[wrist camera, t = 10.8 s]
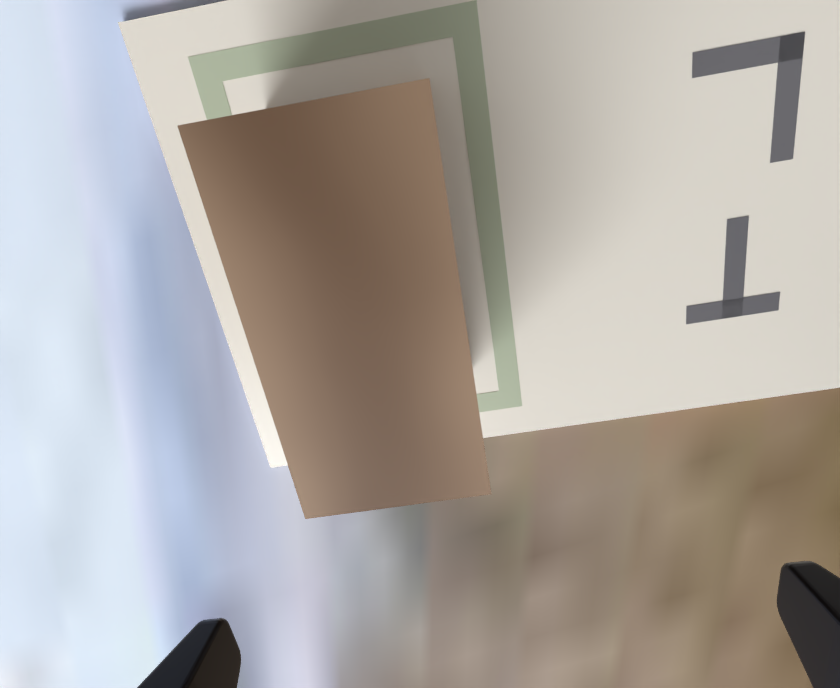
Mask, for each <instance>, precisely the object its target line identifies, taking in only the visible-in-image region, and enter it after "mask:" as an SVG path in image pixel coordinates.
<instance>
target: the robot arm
mask: <svg viewBox="0 0 840 688" xmlns="http://www.w3.org/2000/svg"><path fill="white" fill-rule="evenodd" d="M777 607H778V611H779V614H780V617H781V619H782V621H783V623H784V626H785V628H786V630H787V632H788V634H789V636H790V638H791V641H792V643H793V645H794V647H795V649H796V651H797V653H798V656H799V658H800V660H801V662H802V664H803V666H804V668H805V671H806V673H807V675H808V677H809V679H810V681H811V684H812V686H813V688H840V578H839V577H837V576H836V575H834V574H833V573H831V572H829V571H828V570H826V569H825V568H823V567H822V566H820V565H818V564H816V563H814V562H811V561H801V562H791V563H786V564H784V565H783V566H782V568H781V573H780V580H779V587H778V594H777ZM240 665H241V654H240V650H239V647H238V644H237V642H236V640H235V637H234V635H233V632H232V630H231V628H230V625H229V623H228V621H227V620H225V619H224V618H218V619H207V620H203V621H201V622H199V623H198V624H197V625H196V626H195V627H194V628H193V629H192V630H191V631H190V632H189V633H188V634H187V635H186V636H185V637H184V638H183V639H182V641H181V642H180V643H179V644H178V645H177V646H176V647H175V648H174V649H173V650H172V651H171V652H170V653H169V654H168V655H167V657H166V658H165V659H164V660H163V661H162V662H161V663H160V664H159V665H158V666H157V667H156V668H155V669H154V670H153V671H152V672H151V674H150V675H149V676H148V677H147V678H146V679H145V680H144V681H143V682H142V683H141V684H140V685H139V686H138V687H137V688H237V683H238V677H239V672H240Z"/></svg>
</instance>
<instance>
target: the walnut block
mask: <svg viewBox="0 0 840 688" xmlns="http://www.w3.org/2000/svg"><path fill="white" fill-rule="evenodd" d="M178 129H179V133H180V136H181V139H182V142H183V145H184V148H185V151H186V154H187V157H188V160H189V163H190V166H191V169H192V172H193V175H194V179H195V182H196V185H197V188H198V191H199V194H200V197H201V200H202V203H203V206H204V209H205V212H206V215H207V218H208V221H209V225H210V228H211V231H212V234H213V237H214V240H215V243H216V246H217V249H218V252H219V255H220V258H221V261H222V264H223V267H224V271H225V274H226V277H227V280H228V283H229V286H230V289H231V292H232V295H233V298H234V301H235V304H236V307H237V310H238V314H239V317H240V320H241V323H242V326H243V329H244V332H245V335H246V338H247V341H248V344H249V347H250V350H251V353H252V356H253V360H254V363H255V366H256V369H257V372H258V375H259V378H260V381H261V384H262V387H263V390H264V393H265V396H266V399H267V402H268V406H269V409H270V412H271V415H272V418H273V421H274V424H275V427H276V430H277V433H278V436H279V439H280V442H281V445H282V448H283V452H284V455H285V458H286V461H287V464H288V467H289V470H290V473H291V476H292V479H293V482H294V485H295V488H296V491H297V495H298V498H299V501H300V504H301V507H302V510H303V513H304V516H305V519H309V518H316V517H324V516H331V515H339V514H346V513H354V512H361V511H369V510H376V509H384V508H391V507H399V506H406V505H414V504H421V503H429V502H436V501H444V500H451V499H459V498H466V497H473V496H481V495H488V494H491V488H490V481H489V475H488V468H487V461H486V454H485V448H484V441H483V434H482V428H481V421H480V414H479V407H478V401H477V394H476V387H475V381H474V374H473V367H472V360H471V354H470V347H469V340H468V334H467V327H466V320H465V313H464V307H463V300H462V293H461V287H460V280H459V273H458V266H457V260H456V253H455V246H454V240H453V233H452V226H451V219H450V213H449V206H448V199H447V193H446V186H445V179H444V172H443V166H442V159H441V152H440V146H439V139H438V132H437V125H436V119H435V112H434V105H433V99H432V92H431V85H430V78H427V79H421V80H416V81H411V82H405V83H400V84H395V85H389V86H384V87H379V88H374V89H368V90H363V91H358V92H352V93H347V94H342V95H336V96H331V97H326V98H320V99H315V100H310V101H304V102H299V103H294V104H289V105H283V106H278V107H273V108H267V109H262V110H257V111H251V112H246V113H241V114H236V115H230V116H225V117H220V118H215V119H209V120H204V121H199V122H193V123H188V124H183V125H178Z"/></svg>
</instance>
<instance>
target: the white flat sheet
mask: <svg viewBox="0 0 840 688" xmlns="http://www.w3.org/2000/svg"><path fill="white" fill-rule="evenodd" d="M118 24H119V27H120V30H121V33H122V36H123V38H124V41H125V44H126V47H127V50H128V53H129V56H130V59H131V62H132V65H133V68H134V71H135V73H136V76H137V79H138V82H139V85H140V88H141V91H142V94H143V97H144V100H145V103H146V106H147V108H148V111H149V114H150V117H151V120H152V123H153V126H154V129H155V132H156V135H157V138H158V141H159V144H160V146H161V149H162V152H163V155H164V158H165V161H166V164H167V167H168V170H169V173H170V176H171V179H172V181H173V184H174V187H175V190H176V193H177V196H178V199H179V202H180V205H181V208H182V211H183V214H184V216H185V219H186V222H187V225H188V228H189V231H190V234H191V237H192V240H193V243H194V246H195V249H196V251H197V254H198V257H199V260H200V263H201V266H202V269H203V272H204V275H205V278H206V281H207V284H208V286H209V289H210V292H211V295H212V298H213V301H214V304H215V307H216V310H217V313H218V316H219V319H220V321H221V324H222V327H223V330H224V333H225V336H226V339H227V342H228V345H229V348H230V351H231V354H232V356H233V359H234V362H235V365H236V368H237V371H238V374H239V377H240V380H241V383H242V386H243V389H244V391H245V394H246V397H247V400H248V403H249V406H250V409H251V412H252V415H253V418H254V421H255V424H256V426H257V429H258V432H259V435H260V438H261V441H262V444H263V447H264V450H265V453H266V456H267V459H268V461H269V464H270V467H271V468H273V467H280V466H287V465H288V464H287V461H286V458H285V455H284V452H283V448H282V445H281V442H280V439H279V436H278V433H277V430H276V427H275V424H274V421H273V418H272V415H271V412H270V409H269V406H268V402H267V399H266V396H265V393H264V390H263V387H262V384H261V381H260V378H259V375H258V372H257V369H256V366H255V363H254V360H253V356H252V353H251V350H250V347H249V344H248V341H247V338H246V335H245V332H244V329H243V326H242V323H241V320H240V317H239V314H238V310H237V307H236V304H235V301H234V298H233V295H232V292H231V289H230V286H229V283H228V280H227V277H226V274H225V271H224V267H223V264H222V261H221V258H220V255H219V252H218V249H217V246H216V243H215V240H214V237H213V234H212V231H211V228H210V225H209V221H208V218H207V215H206V212H205V209H204V206H203V203H202V200H201V197H200V194H199V191H198V188H197V185H196V182H195V179H194V175H193V172H192V169H191V166H190V163H189V160H188V157H187V154H186V151H185V148H184V145H183V142H182V139H181V136H180V133H179V129H178V125H183V124H188V123H193V122H199V121H204V120H209V119H215V118H220V117H225V116H230V115H236V114H241V113H246V112H251V111H257V110H262V109H267V108H273V107H278V106H283V105H289V104H294V103H299V102H304V101H310V100H315V99H320V98H326V97H331V96H336V95H342V94H347V93H352V92H358V91H363V90H368V89H374V88H379V87H384V86H389V85H395V84H400V83H405V82H411V81H416V80H421V79H427V78H430V85H431V92H432V99H433V105H434V112H435V119H436V125H437V132H438V139H439V146H440V152H441V159H442V166H443V172H444V179H445V186H446V193H447V199H448V206H449V213H450V219H451V226H452V233H453V240H454V246H455V253H456V260H457V266H458V273H459V280H460V287H461V293H462V300H463V307H464V313H465V320H466V327H467V334H468V340H469V347H470V354H471V360H472V367H473V374H474V381H475V387H476V394H477V401H478V407H479V414H480V421H481V428H482V434H483V438H486V437H493V436H500V435H507V434H514V433H521V432H528V431H535V430H542V429H549V428H556V427H564V426H571V425H578V424H585V423H592V422H599V421H606V420H613V419H620V418H627V417H634V416H641V415H649V414H656V413H663V412H670V411H677V410H684V409H691V408H698V407H705V406H712V405H719V404H726V403H733V402H741V401H748V400H755V399H762V398H769V397H776V396H783V395H790V394H797V393H804V392H811V391H818V390H825V389H833V388H840V0H226V1H221V2H216V3H211V4H207V5H202V6H197V7H192V8H187V9H182V10H177V11H172V12H167V13H162V14H158V15H153V16H148V17H143V18H138V19H133V20H128V21H123V22H118Z"/></svg>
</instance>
